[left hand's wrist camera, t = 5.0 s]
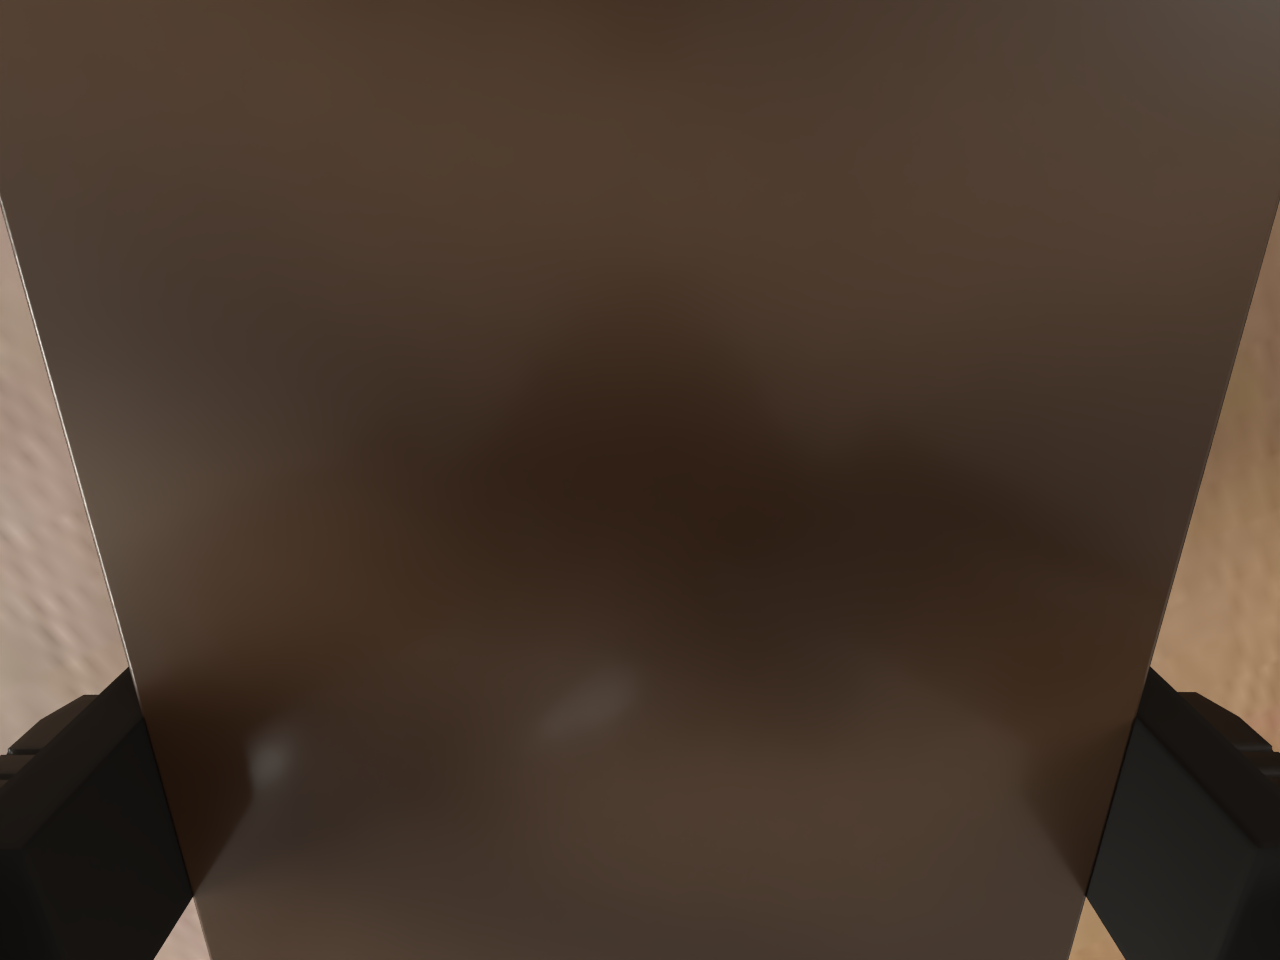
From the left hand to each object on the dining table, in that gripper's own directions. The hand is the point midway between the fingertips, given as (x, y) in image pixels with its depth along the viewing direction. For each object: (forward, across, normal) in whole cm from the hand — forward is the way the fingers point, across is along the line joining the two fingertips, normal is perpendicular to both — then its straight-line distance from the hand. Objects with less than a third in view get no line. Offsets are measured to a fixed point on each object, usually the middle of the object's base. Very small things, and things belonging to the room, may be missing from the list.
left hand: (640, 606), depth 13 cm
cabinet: (+5, 0, -5) cm, 7 cm away
